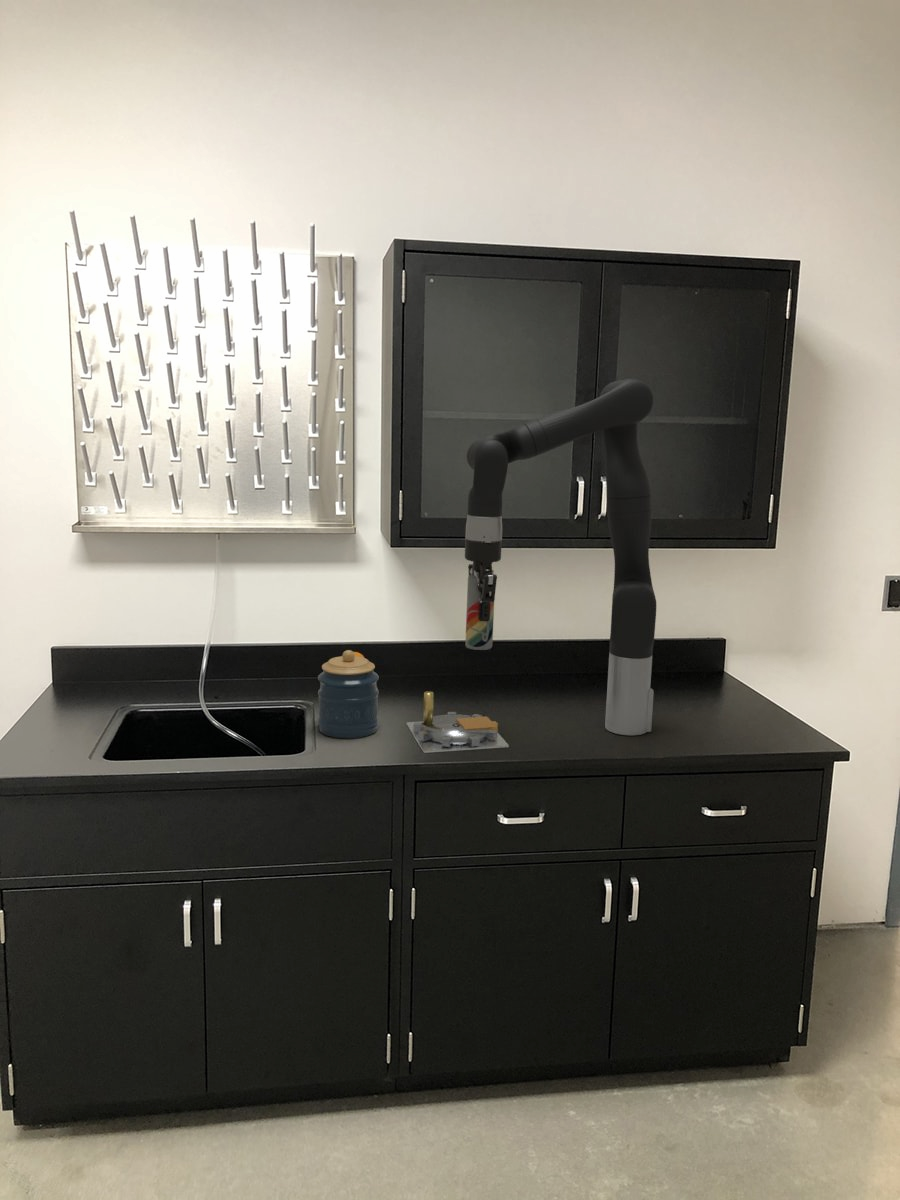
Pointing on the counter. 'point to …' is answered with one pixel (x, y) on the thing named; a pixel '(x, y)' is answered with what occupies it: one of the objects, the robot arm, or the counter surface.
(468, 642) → the lotion bottle
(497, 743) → the base plate
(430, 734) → the sprocket
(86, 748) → the counter surface
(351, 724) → the canister
